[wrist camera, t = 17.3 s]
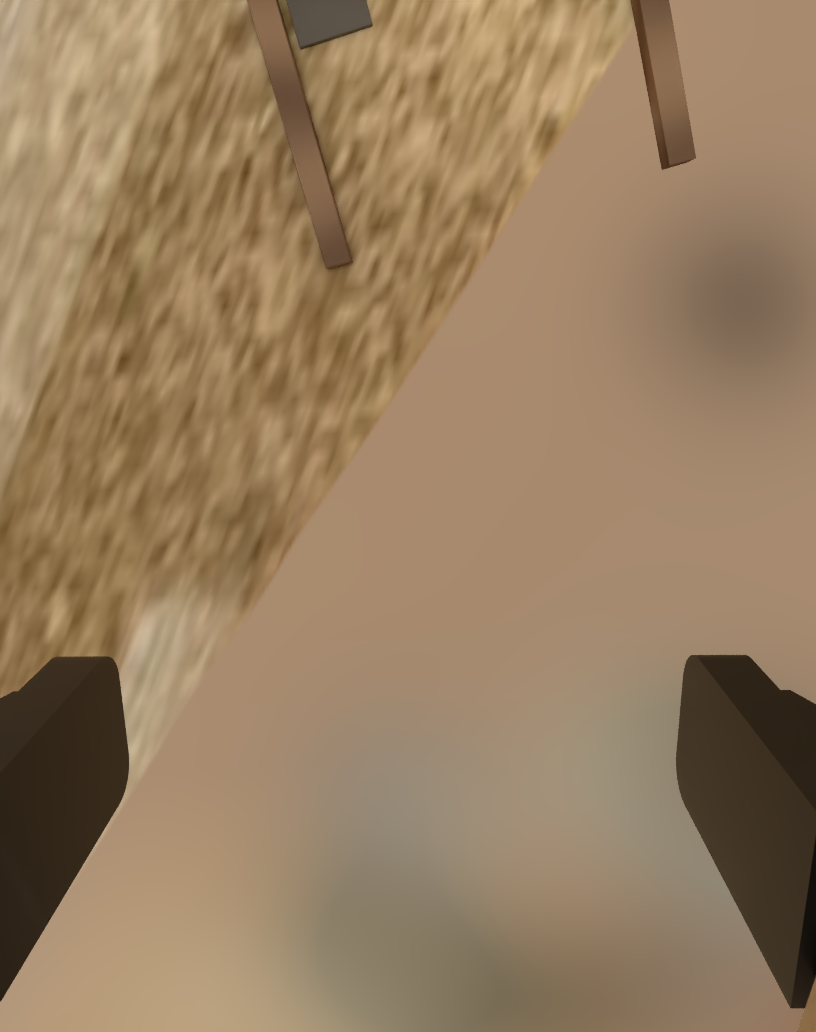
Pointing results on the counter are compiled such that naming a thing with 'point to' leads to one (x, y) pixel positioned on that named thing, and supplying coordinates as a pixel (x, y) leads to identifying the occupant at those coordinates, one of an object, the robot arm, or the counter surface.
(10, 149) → the counter surface
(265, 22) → the track
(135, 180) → the counter surface
